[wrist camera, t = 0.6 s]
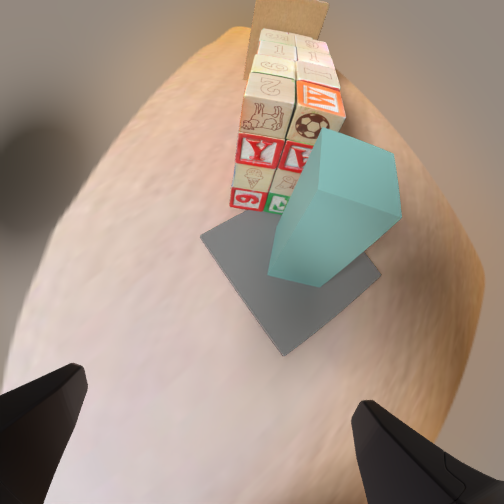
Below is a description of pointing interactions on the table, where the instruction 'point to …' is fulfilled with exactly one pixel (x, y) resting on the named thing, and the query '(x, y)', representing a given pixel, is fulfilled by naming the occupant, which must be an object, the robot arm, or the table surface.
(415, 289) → the table surface
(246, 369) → the table surface
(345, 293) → the charcoal mat
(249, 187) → the stack of blocks
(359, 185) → the teal block
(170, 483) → the table surface
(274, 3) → the sandwich container
